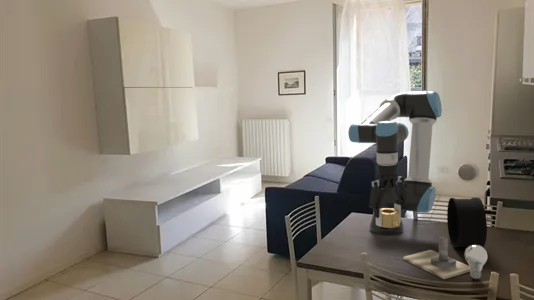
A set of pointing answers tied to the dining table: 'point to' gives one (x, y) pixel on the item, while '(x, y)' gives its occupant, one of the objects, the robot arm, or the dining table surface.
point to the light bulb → (475, 259)
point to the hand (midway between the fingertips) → (388, 223)
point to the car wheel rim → (466, 222)
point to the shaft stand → (438, 261)
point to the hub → (390, 217)
